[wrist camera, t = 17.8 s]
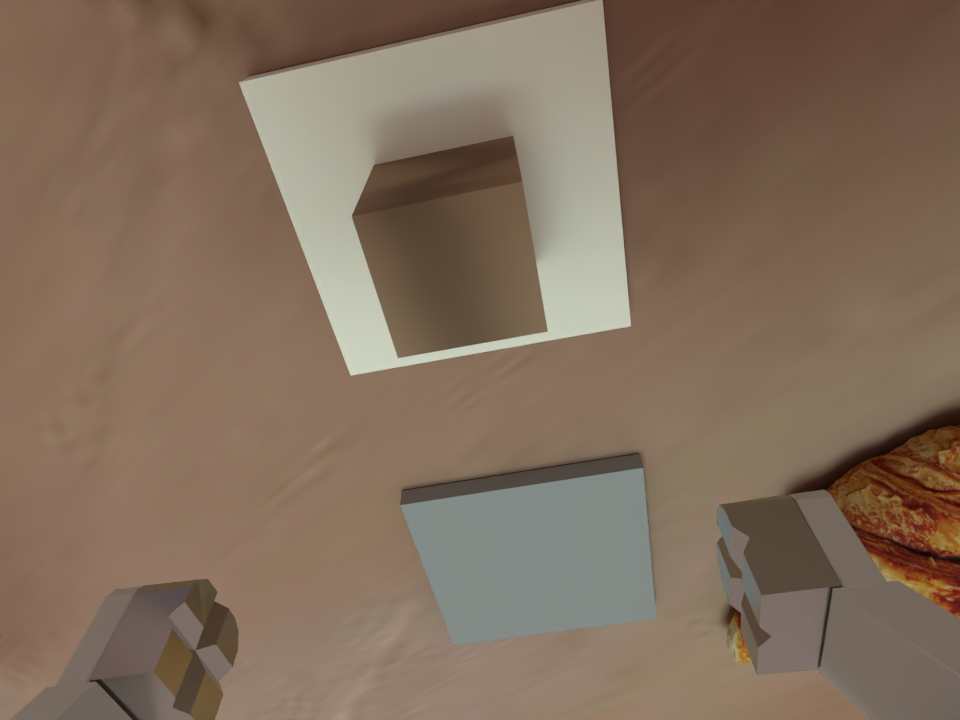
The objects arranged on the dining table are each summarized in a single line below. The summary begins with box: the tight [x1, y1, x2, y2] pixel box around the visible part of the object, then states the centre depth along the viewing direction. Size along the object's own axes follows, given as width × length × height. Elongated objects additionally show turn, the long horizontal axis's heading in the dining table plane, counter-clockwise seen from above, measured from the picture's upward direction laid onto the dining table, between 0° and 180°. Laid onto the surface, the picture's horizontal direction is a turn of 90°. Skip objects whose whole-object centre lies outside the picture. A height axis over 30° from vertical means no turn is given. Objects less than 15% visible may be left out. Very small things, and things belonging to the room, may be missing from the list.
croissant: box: [727, 425, 960, 664], centre depth 33 cm, size 21×10×8 cm, turn 152°
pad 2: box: [400, 454, 656, 645], centre depth 35 cm, size 12×12×1 cm
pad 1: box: [239, 0, 631, 375], centre depth 24 cm, size 12×12×1 cm
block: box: [352, 136, 548, 358], centre depth 22 cm, size 5×5×5 cm
